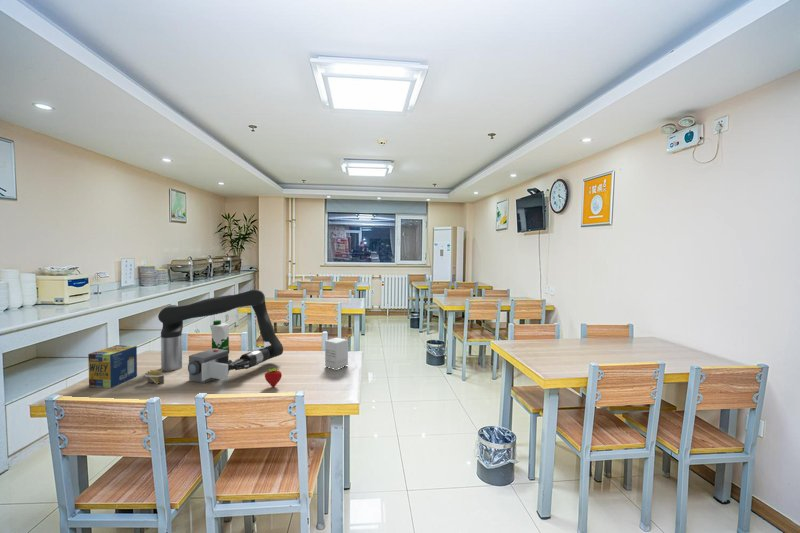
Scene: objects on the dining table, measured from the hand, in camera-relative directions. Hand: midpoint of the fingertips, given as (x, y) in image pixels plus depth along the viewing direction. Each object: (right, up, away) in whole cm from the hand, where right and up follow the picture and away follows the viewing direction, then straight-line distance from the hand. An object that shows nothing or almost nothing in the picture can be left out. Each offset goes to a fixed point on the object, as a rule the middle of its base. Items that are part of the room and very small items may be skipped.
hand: (223, 369), depth 162 cm
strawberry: (+24, -8, -2) cm, 25 cm away
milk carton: (-27, -5, +48) cm, 55 cm away
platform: (-33, -7, 0) cm, 34 cm away
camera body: (-12, -7, +8) cm, 16 cm away
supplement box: (+48, -7, +27) cm, 55 cm away
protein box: (-53, -6, +2) cm, 53 cm away
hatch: (-3, -5, 0) cm, 6 cm away
